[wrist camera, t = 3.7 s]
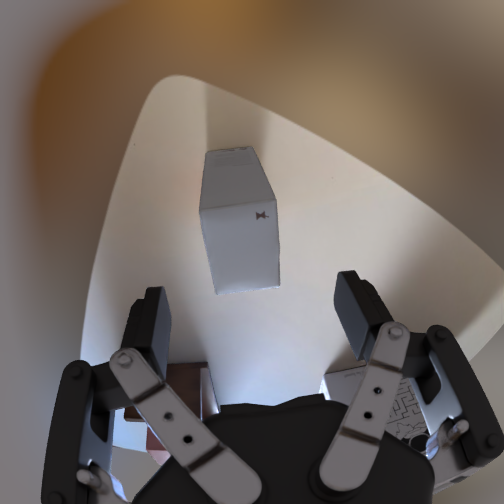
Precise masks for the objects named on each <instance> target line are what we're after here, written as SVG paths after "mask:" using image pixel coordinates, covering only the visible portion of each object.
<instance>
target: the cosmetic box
mask: <svg viewBox="0 0 504 504" xmlns="http://www.w3.org/2000/svg"><path fill="white" fill-rule="evenodd" d="M199 215H200V221H201V228H202V234H203V239H204V244H205V248H206V252H207V256H208V261H209V265H210V270H211V274H212V279H213V284H214V288H215V293H216V295H221V294H229V293H237V292H244V291H252V290H260V289H269V288H278V287H279V286H280V262H279V255H280V243H279V230H278V213H277V201H276V198H275V195H274V192H273V190H272V188H271V186H270V184H269V181H268V179H267V177H266V175H265V172H264V170H263V168H262V166H261V164H260V161H259V159H258V157H257V154H256V152H255V150H254V148H253V147H244V148H235V149H227V150H220V151H212V152H207V153H206V155H205V164H204V171H203V179H202V188H201V197H200V206H199Z"/></svg>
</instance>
